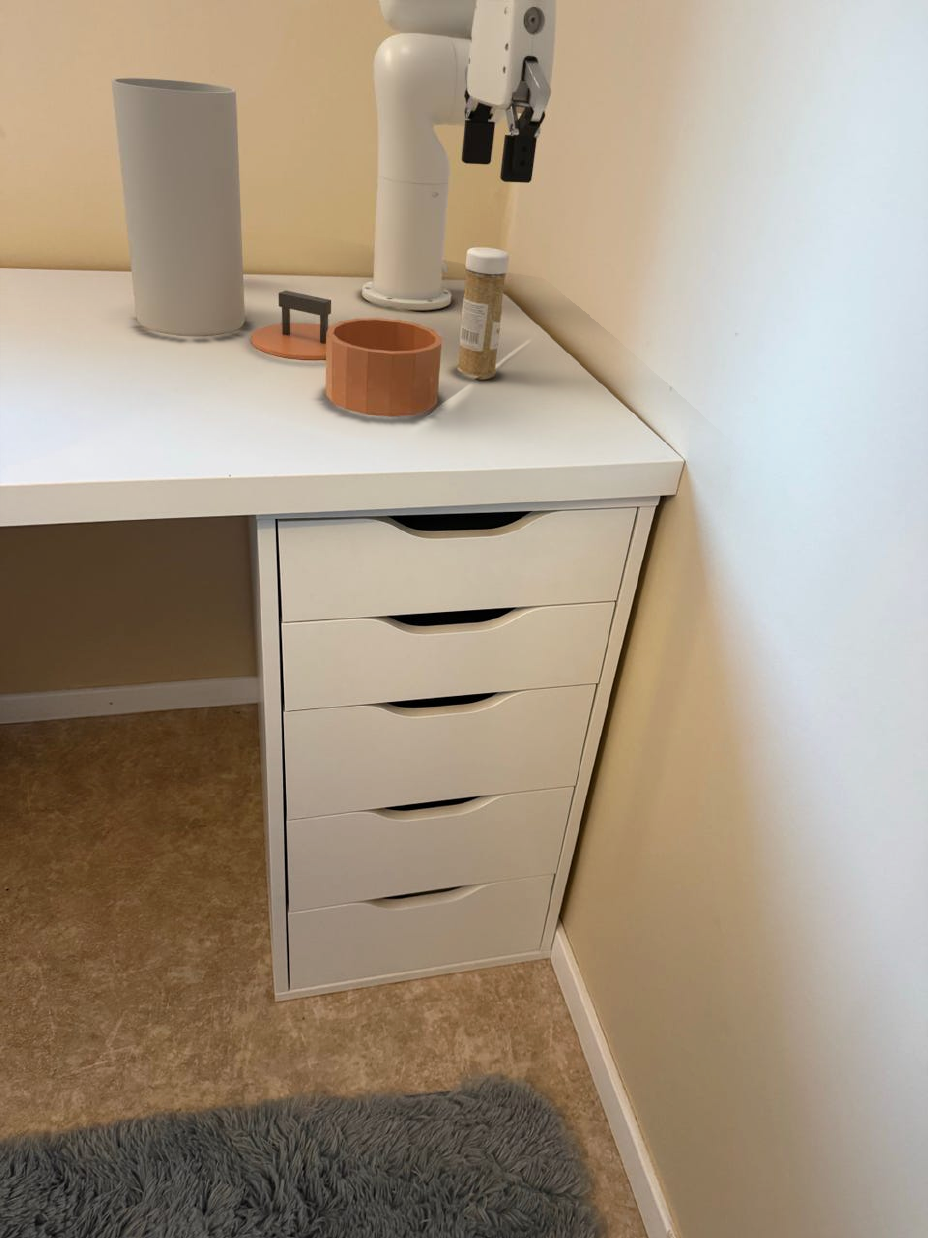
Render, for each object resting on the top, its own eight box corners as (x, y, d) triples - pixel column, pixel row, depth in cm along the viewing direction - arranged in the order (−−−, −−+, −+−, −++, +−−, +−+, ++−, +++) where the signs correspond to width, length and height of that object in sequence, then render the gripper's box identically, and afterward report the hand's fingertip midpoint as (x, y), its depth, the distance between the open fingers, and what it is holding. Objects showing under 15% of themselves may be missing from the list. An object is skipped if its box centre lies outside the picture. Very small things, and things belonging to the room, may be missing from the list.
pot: (358, 374, 100) (360, 311, 96) (453, 396, 96) (459, 332, 93) (305, 404, 90) (305, 336, 87) (408, 430, 87) (412, 361, 84)
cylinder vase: (114, 327, 105) (85, 78, 91) (176, 304, 115) (158, 76, 101) (209, 347, 102) (193, 94, 88) (264, 321, 112) (257, 90, 98)
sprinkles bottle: (503, 378, 103) (518, 254, 95) (470, 382, 101) (483, 256, 93) (480, 365, 106) (493, 244, 98) (448, 369, 104) (458, 246, 96)
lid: (287, 325, 112) (286, 276, 109) (375, 345, 109) (377, 295, 105) (230, 350, 102) (227, 297, 99) (325, 372, 99) (325, 318, 96)
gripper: (599, -27, 77) (566, 190, 87) (513, -31, 90) (493, 158, 100) (521, -38, 75) (496, 188, 84) (444, -41, 87) (430, 155, 97)
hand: (495, 171), depth 92 cm, fingers open, 9 cm apart
